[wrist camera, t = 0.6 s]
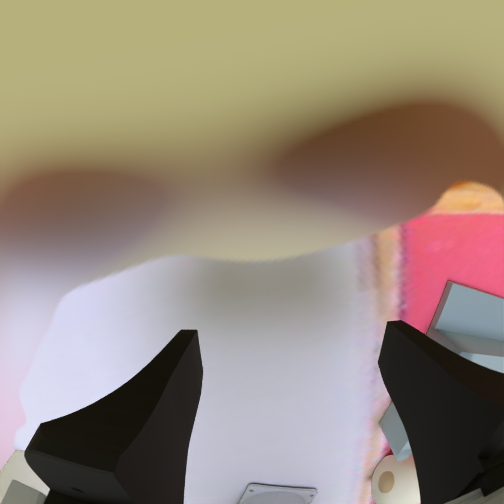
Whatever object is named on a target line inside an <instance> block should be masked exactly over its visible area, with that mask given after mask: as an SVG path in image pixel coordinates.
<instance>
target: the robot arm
mask: <svg viewBox="0 0 504 504" xmlns="http://www.w3.org/2000/svg"><path fill="white" fill-rule="evenodd" d="M378 365H379V368H380V372H381V375H382V378H383V381H384V384H385V386H386V389H387V391H388V393H389V395H390V397H391V399H392V402H393V404H394V406H395V408H396V410H397V412H398V415H399V417H400V419H401V421H402V423H403V426H404V428H405V431H406V434H407V437H408V440H409V444H410V447H411V451H412V455H413V459H414V464H415V468H416V473H417V479H418V485H419V492H420V501H421V504H504V373H501V372H498V371H495V370H492V369H489V368H487V367H484V366H482V365H479V364H477V363H475V362H473V361H470V360H468V359H466V358H464V357H462V356H460V355H458V354H457V353H455V352H453V351H451V350H449V349H448V348H446V347H444V346H443V345H441V344H439V343H438V342H436V341H434V340H433V339H431V338H430V337H428V336H427V335H425V334H423V333H422V332H420V331H419V330H417V329H416V328H414V327H412V326H411V325H409V324H407V323H406V322H404V321H402V320H398V321H388V322H387V325H386V330H385V334H384V339H383V343H382V347H381V352H380V356H379V360H378ZM202 379H203V367H202V360H201V354H200V347H199V339H198V332H197V330H180V331H179V332H178V333H177V334H176V335H175V336H174V338H173V339H172V340H171V341H170V342H169V343H168V344H167V345H166V346H165V347H164V348H163V349H162V350H161V352H160V353H159V354H158V355H157V356H156V357H155V358H154V359H153V360H152V361H151V362H150V363H149V364H147V365H146V366H145V367H144V368H143V369H142V370H141V371H140V372H139V373H137V374H136V375H135V376H134V377H133V378H131V379H130V380H129V381H128V382H126V383H125V384H123V385H122V386H121V387H119V388H118V389H116V390H115V391H113V392H112V393H110V394H108V395H107V396H105V397H103V398H101V399H100V400H98V401H96V402H95V403H93V404H91V405H89V406H87V407H85V408H82V409H80V410H78V411H76V412H73V413H71V414H68V415H66V416H63V417H60V418H57V419H54V420H51V421H48V422H44V423H41V424H40V426H39V427H38V429H37V431H36V432H35V434H34V436H33V438H32V439H31V441H30V443H29V445H28V446H27V448H26V450H25V452H24V457H25V459H26V462H27V464H28V465H29V467H30V468H31V469H32V470H33V471H34V473H35V474H36V475H37V476H38V477H39V478H40V479H41V480H42V481H43V482H44V483H45V484H46V485H47V487H48V488H49V489H50V490H49V493H48V495H47V496H46V495H45V494H43V493H42V492H40V491H38V490H36V489H34V488H32V487H29V486H27V485H25V484H23V483H21V482H19V481H17V480H12V481H11V483H10V485H9V487H8V489H7V492H6V494H5V496H4V498H3V500H2V502H1V504H183V503H184V487H185V474H186V464H187V455H188V447H189V442H190V437H191V433H192V429H193V425H194V421H195V417H196V413H197V408H198V404H199V400H200V396H201V388H202ZM317 493H318V492H317V490H316V489H303V488H288V487H276V486H267V485H258V484H250V485H248V487H247V489H246V491H245V493H244V495H243V496H242V498H241V500H240V502H239V504H309V503H310V502H311V501H312V499H313V498H314V497H315V496H316V494H317Z"/></svg>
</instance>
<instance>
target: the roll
mask: <svg viewBox="0 0 504 504" xmlns="http://www.w3.org/2000/svg"><path fill="white" fill-rule="evenodd" d="M371 492H372V497H373V500H374V502H375V503H376V504H419V503H421V501H420V492H419V485H418V479H417V473H416V468H415V464H414V459H413V455H411V456H410V457H409V458H407V459H405V460H403V461H397V460H396V458H395V456H394V455H388V456H386V457H384V458H383V459H382V460H381V461H380V463H379V464H378V465H377V467H376V469H375V471H374V474H373V477H372V483H371Z"/></svg>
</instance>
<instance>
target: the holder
mask: <svg viewBox="0 0 504 504" xmlns="http://www.w3.org/2000/svg"><path fill="white" fill-rule="evenodd" d="M426 335H427V336H428V337H430V338H431V339H433V340H434V341H436V342H438V343H439V344H441V345H443V346H444V347H446V348H448V349H449V350H451V351H453V352H455V353H457V354H458V355H460V356H462V357H464V358H466V359H468V360H470V361H473V362H475V363H477V364H479V365H482V366H484V367H487V368H489V369H492V370H495V371H498V372H501V373H504V298H502V297H499V296H496V295H493V294H490V293H487V292H483V291H480V290H477V289H474V288H471V287H468V286H465V285H462V284H458V283H455V282H452V281H449V280H448V282H447V284H446V287H445V290H444V293H443V295H442V298H441V300H440V303H439V305H438V308H437V310H436V313H435V315H434V318H433V320H432V322H431V325H430V327H429V329H428V332H427V334H426ZM380 426H381V428H382V431H383V433H384V435H385V437H386V439H387V441H388V443H389V445H390V447H391V450H392V452H393V454H394V456H395V458H396V460H397V461H403V460H405V459H407V458H409V457H410V456H411V455H412V451H411V447H410V444H409V440H408V437H407V434H406V431H405V428H404V426H403V423H402V421H401V419H400V417H399V415H398V412H397V410H396V408H395V406H394V404H393V402H391V404H390V406H389V408H388V409H387V411H386V413H385V414H384V416H383V418H382V419H381V421H380Z"/></svg>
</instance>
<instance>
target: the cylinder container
mask: <svg viewBox="0 0 504 504" xmlns="http://www.w3.org/2000/svg"><path fill="white" fill-rule="evenodd" d="M12 480H17V481H19V482H21V483H23V484H25V485H27V486H29V487H32V488H34V489H36V490H38V491H40V492H42V493H43V494H45V495H46V496H47V495H48V493H49V490H50V489H49V488H48V487H47V485H46V484H45V483H44V482H43V481H42V480H41V479H40V478H39V477H38V476H37V475H36V474H35V473H34V471H33V470H32V469H31V468H30V467H29V465H28V464H27V462H26V459H25V457H24V451H20V450H17V451H15V452H14V453H13V455H12V456H11V458H10V459H9V460H8V461H7V463H6V464H5V466H4V467H3V468H2V470H1V471H0V504H1V502H2V500H3V498H4V496H5V494H6V492H7V489H8V487H9V485H10V483H11V481H12Z"/></svg>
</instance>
